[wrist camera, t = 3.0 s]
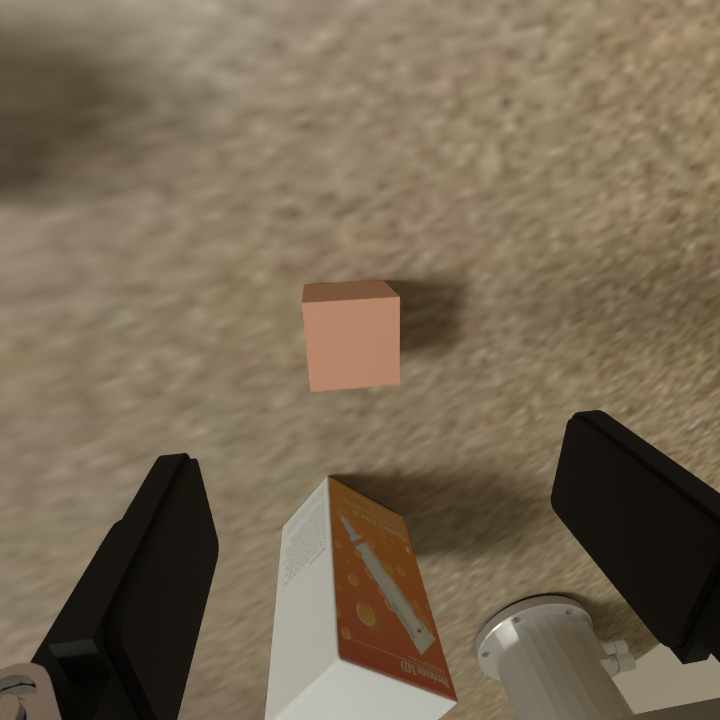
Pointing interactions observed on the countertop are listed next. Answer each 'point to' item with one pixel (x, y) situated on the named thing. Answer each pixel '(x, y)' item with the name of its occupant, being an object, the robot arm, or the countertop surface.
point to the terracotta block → (352, 334)
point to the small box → (353, 618)
